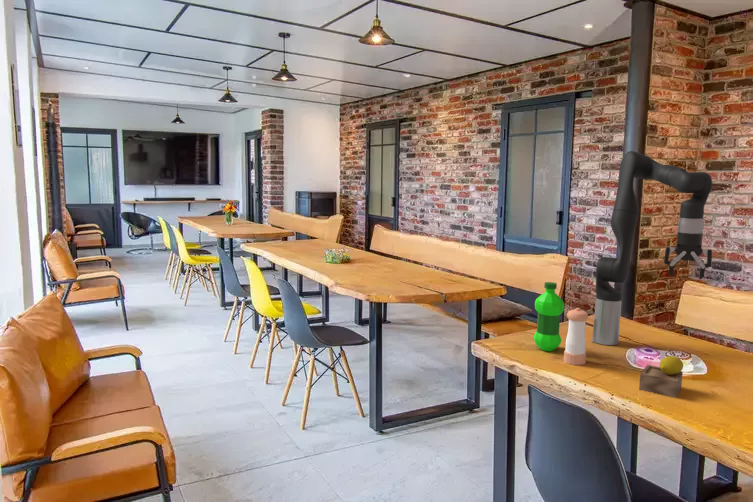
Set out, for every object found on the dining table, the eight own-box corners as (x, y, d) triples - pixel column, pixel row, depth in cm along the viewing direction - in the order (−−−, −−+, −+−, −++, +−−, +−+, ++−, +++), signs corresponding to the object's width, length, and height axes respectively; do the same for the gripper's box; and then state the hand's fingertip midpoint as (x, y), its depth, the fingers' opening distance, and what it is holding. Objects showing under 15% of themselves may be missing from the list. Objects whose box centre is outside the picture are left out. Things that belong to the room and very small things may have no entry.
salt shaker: (565, 357, 199) (568, 304, 196) (586, 360, 196) (590, 307, 193) (562, 363, 192) (565, 309, 190) (584, 366, 189) (588, 311, 187)
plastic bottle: (534, 343, 215) (538, 279, 211) (563, 347, 210) (567, 282, 207) (530, 350, 206) (533, 284, 202) (559, 354, 201) (564, 287, 198)
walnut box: (639, 390, 170) (640, 373, 169) (645, 381, 178) (647, 364, 177) (675, 399, 164) (677, 381, 163) (681, 389, 172) (682, 371, 171)
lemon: (658, 378, 170) (677, 373, 173) (672, 375, 165) (691, 370, 168) (651, 360, 172) (670, 355, 175) (664, 357, 167) (684, 352, 170)
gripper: (666, 231, 190) (662, 277, 192) (715, 233, 183) (710, 281, 186) (666, 228, 196) (663, 274, 199) (713, 231, 190) (709, 277, 192)
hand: (686, 277), depth 192 cm, fingers open, 8 cm apart
